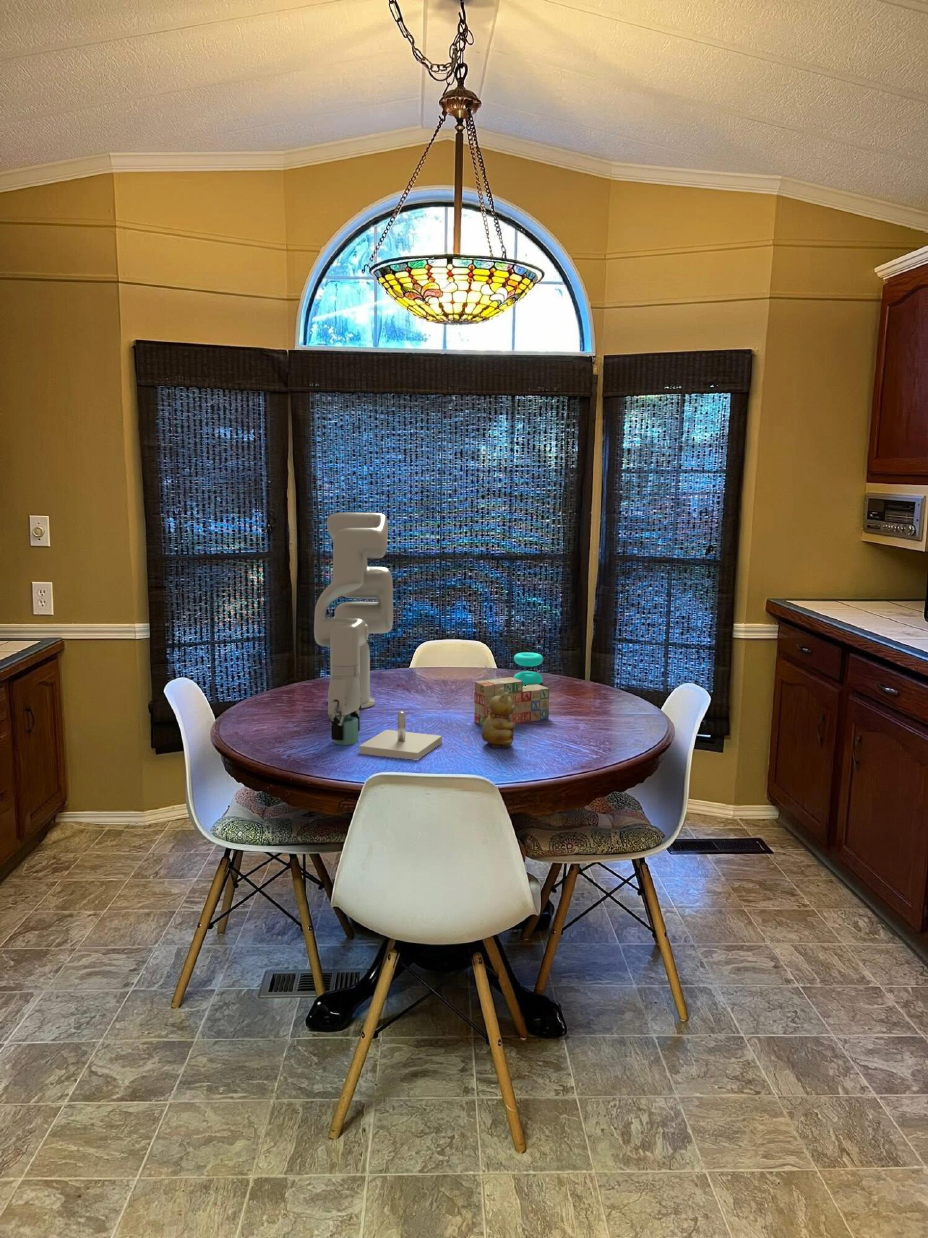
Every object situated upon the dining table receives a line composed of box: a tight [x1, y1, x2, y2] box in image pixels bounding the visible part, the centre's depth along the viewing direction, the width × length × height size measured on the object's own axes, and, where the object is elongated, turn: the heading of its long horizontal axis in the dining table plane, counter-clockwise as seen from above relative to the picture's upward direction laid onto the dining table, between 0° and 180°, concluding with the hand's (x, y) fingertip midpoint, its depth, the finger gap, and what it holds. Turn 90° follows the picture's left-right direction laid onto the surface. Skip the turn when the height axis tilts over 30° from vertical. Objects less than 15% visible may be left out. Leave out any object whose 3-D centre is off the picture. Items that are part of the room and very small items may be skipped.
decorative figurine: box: [481, 688, 516, 748], centre depth 233 cm, size 10×8×15 cm
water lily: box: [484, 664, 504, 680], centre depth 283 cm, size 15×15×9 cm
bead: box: [332, 715, 359, 746], centre depth 235 cm, size 6×6×6 cm
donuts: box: [513, 652, 544, 686], centre depth 305 cm, size 10×10×10 cm
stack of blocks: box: [473, 676, 550, 727], centre depth 257 cm, size 21×6×12 cm, turn 117°
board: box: [358, 710, 443, 760], centre depth 229 cm, size 16×16×10 cm
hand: (345, 735), depth 235 cm, fingers open, 8 cm apart
